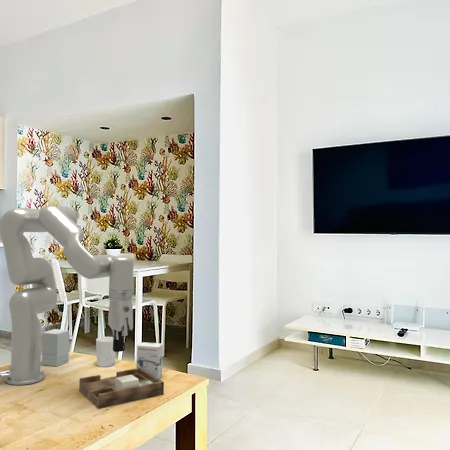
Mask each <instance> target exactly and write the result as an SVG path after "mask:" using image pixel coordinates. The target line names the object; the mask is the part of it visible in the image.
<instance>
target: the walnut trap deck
mask: <svg viewBox="0 0 450 450" xmlns="http://www.w3.org/2000/svg"><path fill="white" fill-rule="evenodd" d="M115 375H116V376H111V377H105V378H102V377H101V375H100V374H97V375H91V376H85V377H80V378H79V379H78V380H79V386H78V389H79V392H80V393H81V394H82V395H83V396H84V397H86V398H87V399H88V401H90V402H91V404H92V403H93V405H94V406H95V407H96V408H97V409H98V410H99V409H105V408H109V407H113V406H118V405H122V404H126V403H130V402H131V403H132V402H136V401H140V400H146V399H150V398H153V397H154V398H155V397H159V396H162V395H164V391H165V382H164V381H163V380H161V379H160V378H159V379H158V378H156V377H155V376H153V375H151V374H149V373H148V372H146V371H144V370H143V369H141V368H136V367H135V368H131V369H125V370H120V371H116V373H115ZM127 375H133V376H134V377H136V378H138V379H139V386H136V387H131V388H126V389H121V390H116V389H115V378H117V377H122V376H127Z"/></svg>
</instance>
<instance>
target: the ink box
mask: <svg viewBox="0 0 450 450" xmlns="http://www.w3.org/2000/svg"><path fill="white" fill-rule="evenodd" d="M136 347H137V348H136V367H135V369H136V368H141V369H143V370H144V371H146V372H148V373H149V374H151V375H153V376H155V377H156V378H158V379H160V378H162V377H163V358H164V355H163V353H164V351H163V349H164V344H163V343H158V342H140V343H139V344H137V345H136Z"/></svg>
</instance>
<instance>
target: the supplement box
mask: <svg viewBox="0 0 450 450" xmlns="http://www.w3.org/2000/svg"><path fill="white" fill-rule="evenodd" d="M69 348H70V330H69V329H59V328H53V329H49V330H47V331H44V332H41V365H43V366H49V367H50V366H51V367H59V366H62V365H65V364H67V363H68V362H69V360H70V359H69V358H70V356H69V355H70V352H69V351H70V349H69Z"/></svg>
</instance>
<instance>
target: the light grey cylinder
mask: <svg viewBox="0 0 450 450" xmlns="http://www.w3.org/2000/svg"><path fill="white" fill-rule="evenodd" d="M113 339H115V338H113V336H101V337H97V338H96V339H95V342H96V343H95V347H96V349H95V351H96V352H95V353H96V366H98V367H101V368H102V367H103V368H107V367H112V366H114V365H115V363H116V354H117V352H114V351H113Z"/></svg>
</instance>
